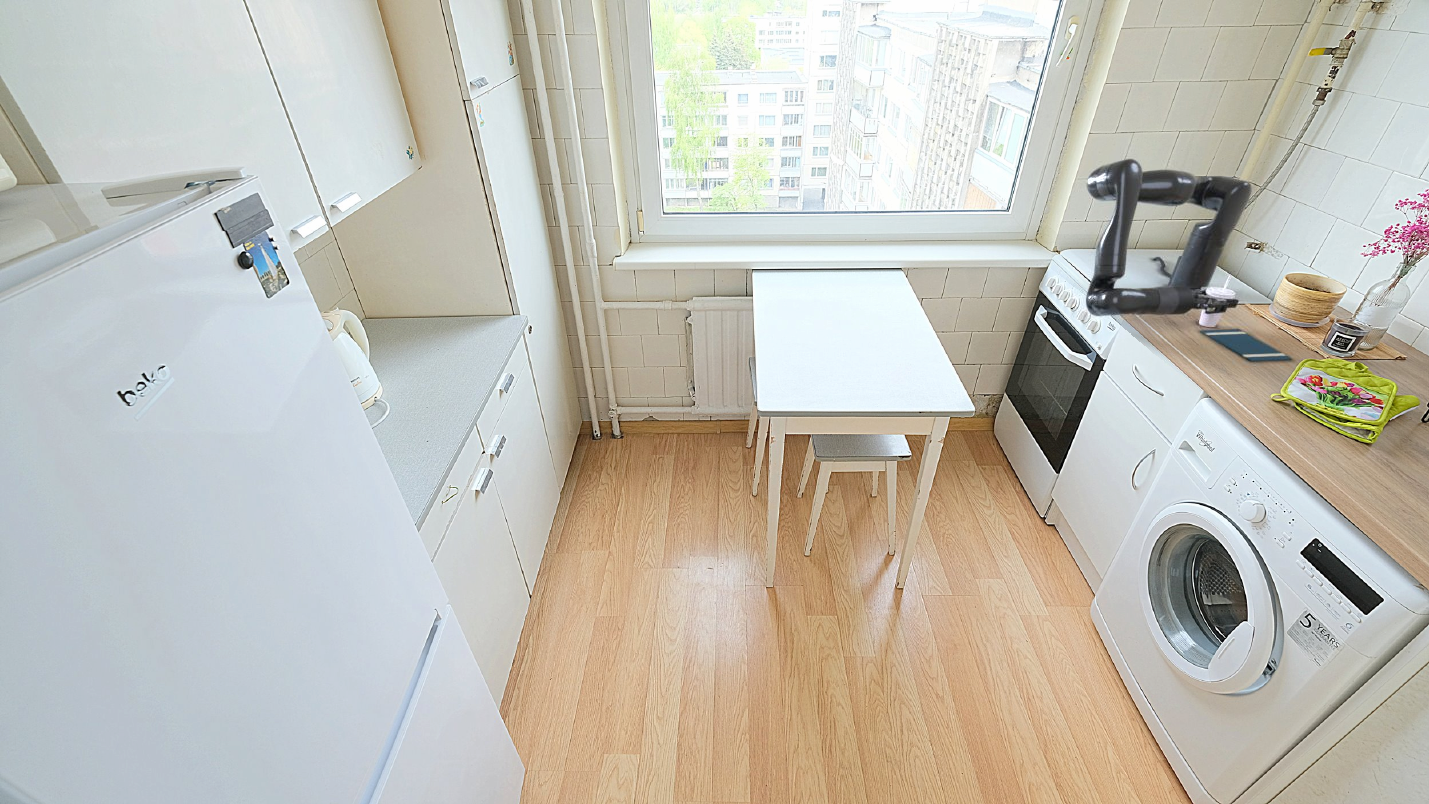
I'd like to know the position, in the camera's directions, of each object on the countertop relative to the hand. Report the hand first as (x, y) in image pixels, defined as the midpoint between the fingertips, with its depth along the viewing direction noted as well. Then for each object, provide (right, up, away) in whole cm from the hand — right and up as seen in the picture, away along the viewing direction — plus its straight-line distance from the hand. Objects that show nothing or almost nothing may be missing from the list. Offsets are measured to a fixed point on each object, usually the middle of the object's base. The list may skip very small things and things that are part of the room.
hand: (1226, 298), depth 170 cm
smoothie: (-2, -7, +4) cm, 8 cm away
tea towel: (-1, -13, -7) cm, 15 cm away
